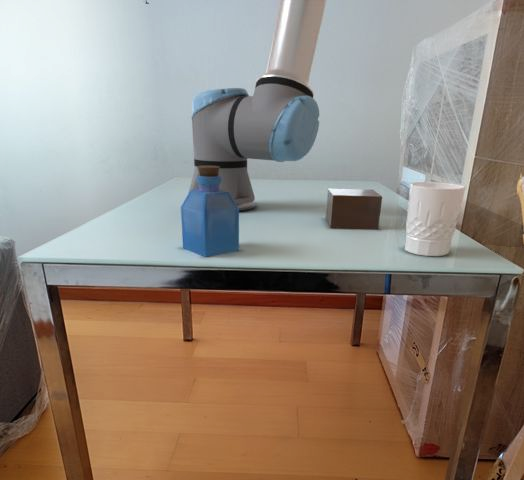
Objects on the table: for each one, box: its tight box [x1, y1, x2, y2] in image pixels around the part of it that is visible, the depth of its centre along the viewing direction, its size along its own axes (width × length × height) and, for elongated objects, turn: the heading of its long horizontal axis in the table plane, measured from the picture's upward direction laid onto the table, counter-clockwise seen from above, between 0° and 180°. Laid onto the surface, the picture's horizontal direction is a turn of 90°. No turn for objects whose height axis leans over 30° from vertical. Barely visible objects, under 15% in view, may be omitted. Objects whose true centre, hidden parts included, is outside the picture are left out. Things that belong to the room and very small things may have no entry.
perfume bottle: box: [180, 166, 240, 258], centre depth 71 cm, size 6×6×12 cm
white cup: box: [404, 181, 466, 257], centre depth 73 cm, size 8×8×10 cm
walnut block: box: [325, 188, 383, 230], centre depth 92 cm, size 9×9×6 cm
